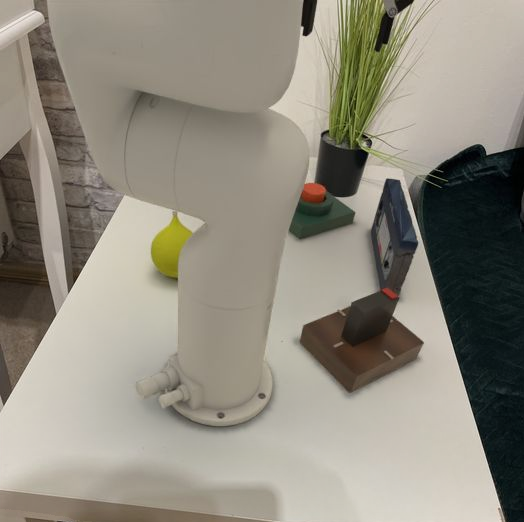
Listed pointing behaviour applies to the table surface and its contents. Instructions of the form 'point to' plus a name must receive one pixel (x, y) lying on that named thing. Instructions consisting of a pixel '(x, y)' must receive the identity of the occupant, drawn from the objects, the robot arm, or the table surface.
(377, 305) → the grey square slab
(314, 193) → the button
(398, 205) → the vhs cassette tape
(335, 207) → the button box
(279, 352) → the table surface
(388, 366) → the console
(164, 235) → the ornament
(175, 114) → the robot arm
